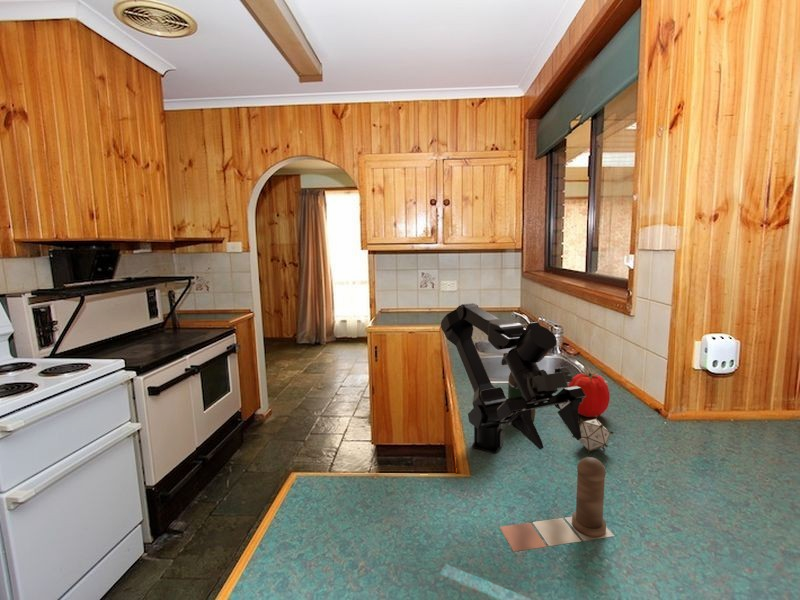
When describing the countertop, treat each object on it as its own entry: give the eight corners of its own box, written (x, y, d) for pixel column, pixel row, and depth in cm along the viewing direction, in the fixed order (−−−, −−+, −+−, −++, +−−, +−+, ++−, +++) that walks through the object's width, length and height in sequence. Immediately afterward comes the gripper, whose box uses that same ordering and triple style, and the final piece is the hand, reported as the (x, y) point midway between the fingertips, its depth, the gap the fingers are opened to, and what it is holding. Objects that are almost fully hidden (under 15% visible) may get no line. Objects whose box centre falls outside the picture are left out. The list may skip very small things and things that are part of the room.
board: (512, 567, 66) (513, 561, 66) (490, 525, 76) (490, 520, 76) (627, 549, 69) (628, 543, 69) (591, 511, 79) (591, 505, 79)
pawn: (570, 531, 72) (572, 462, 70) (574, 512, 77) (576, 447, 75) (604, 541, 69) (608, 470, 67) (606, 521, 74) (610, 455, 72)
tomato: (610, 411, 123) (612, 369, 121) (606, 427, 113) (608, 382, 111) (570, 403, 129) (571, 364, 127) (562, 418, 119) (564, 375, 117)
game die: (599, 465, 101) (621, 447, 94) (566, 452, 102) (585, 433, 95) (598, 435, 107) (619, 416, 100) (567, 422, 108) (585, 403, 101)
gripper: (505, 360, 78) (542, 439, 69) (581, 349, 84) (623, 420, 76) (483, 385, 86) (514, 458, 78) (553, 373, 93) (589, 440, 84)
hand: (561, 444), depth 79 cm, fingers open, 9 cm apart
